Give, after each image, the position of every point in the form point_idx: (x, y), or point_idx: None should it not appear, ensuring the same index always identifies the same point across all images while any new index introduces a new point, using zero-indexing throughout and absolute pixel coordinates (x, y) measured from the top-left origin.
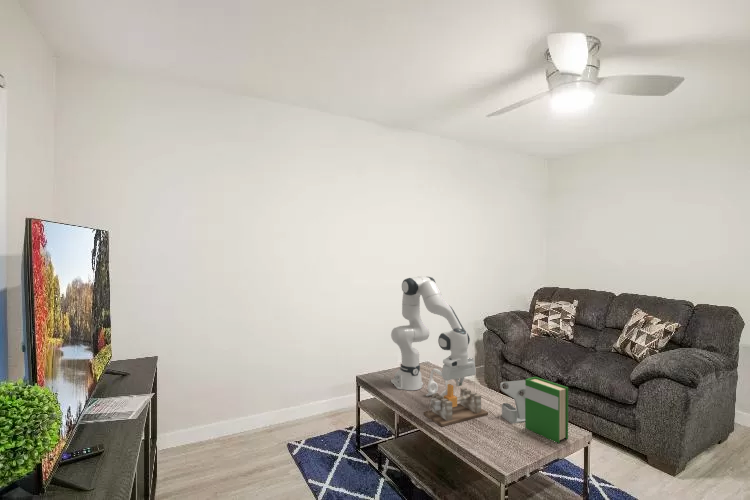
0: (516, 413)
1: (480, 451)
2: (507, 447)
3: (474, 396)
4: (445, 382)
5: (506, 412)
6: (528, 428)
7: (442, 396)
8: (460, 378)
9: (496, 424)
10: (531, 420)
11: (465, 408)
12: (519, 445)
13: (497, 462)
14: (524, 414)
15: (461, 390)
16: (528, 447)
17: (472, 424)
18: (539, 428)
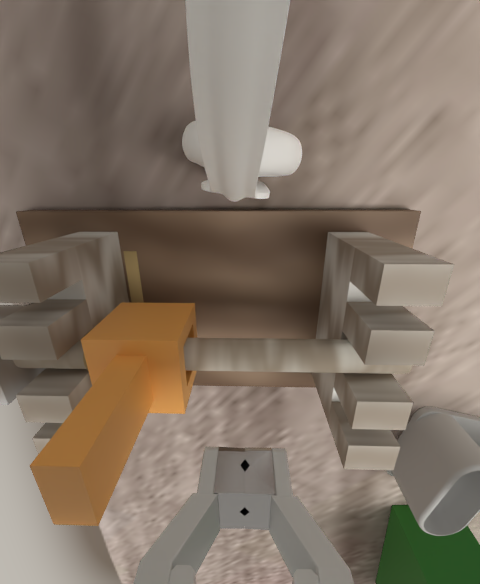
0: (433, 516)
1: (125, 528)
2: (220, 544)
3: (343, 440)
4: (208, 154)
5: (415, 480)
6: (391, 518)
7: (194, 162)
8: (309, 559)
9: (320, 450)
10: (410, 574)
11: (307, 298)
12: (263, 551)
13: (137, 568)
14: None
15: (371, 277)
16: (277, 563)
17: (226, 410)
18: (394, 572)
